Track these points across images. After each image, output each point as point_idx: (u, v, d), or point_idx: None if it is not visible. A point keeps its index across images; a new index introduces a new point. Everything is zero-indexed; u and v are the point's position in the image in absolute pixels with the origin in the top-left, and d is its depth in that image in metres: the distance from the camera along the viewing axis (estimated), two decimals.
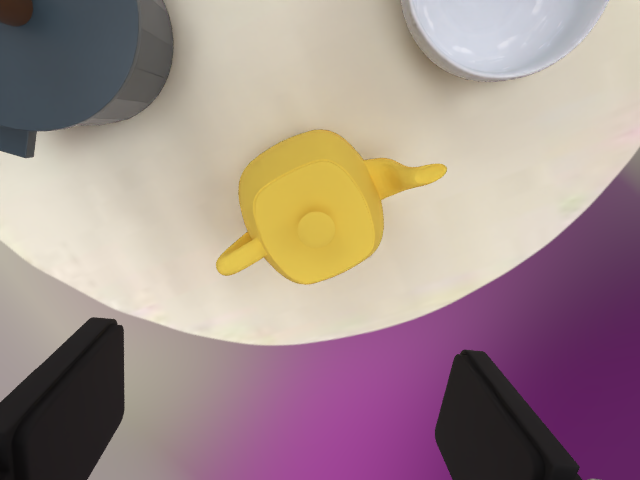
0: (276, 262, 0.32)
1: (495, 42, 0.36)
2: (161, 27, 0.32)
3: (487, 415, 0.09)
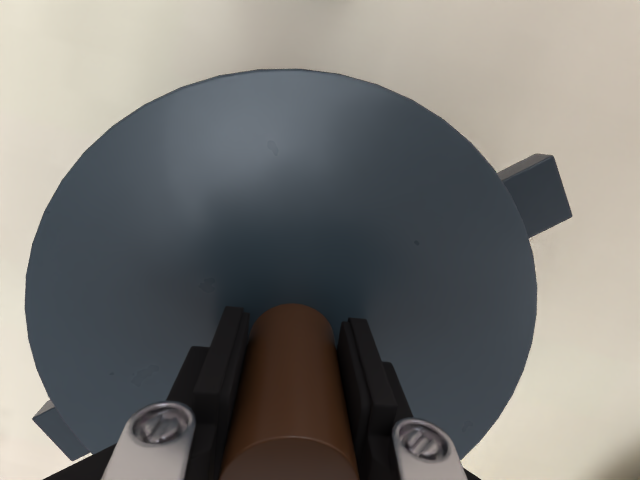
0: None
1: None
2: None
3: (348, 370, 0.10)
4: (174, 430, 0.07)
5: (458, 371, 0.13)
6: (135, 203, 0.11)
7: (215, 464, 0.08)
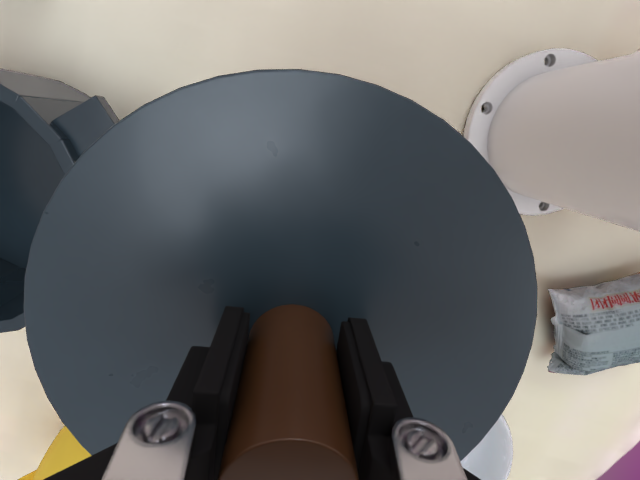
0: None
1: None
2: None
3: (348, 370, 0.10)
4: (174, 430, 0.07)
5: (458, 372, 0.13)
6: (134, 204, 0.11)
7: (215, 464, 0.08)
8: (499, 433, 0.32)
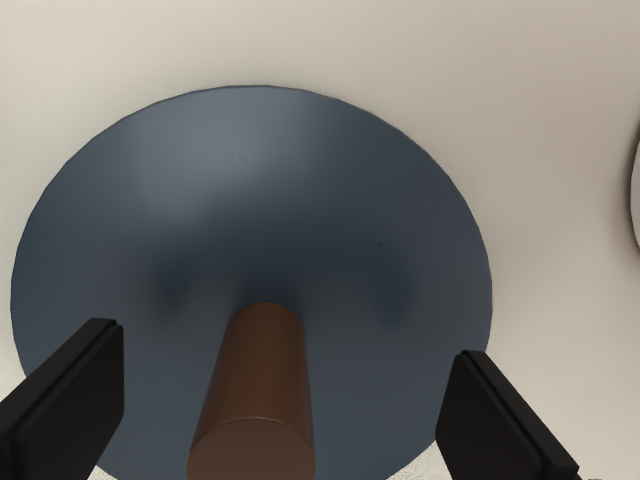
0: None
1: None
2: None
3: (487, 415, 0.09)
4: None
5: (422, 363, 0.14)
6: (115, 210, 0.12)
7: None
8: None
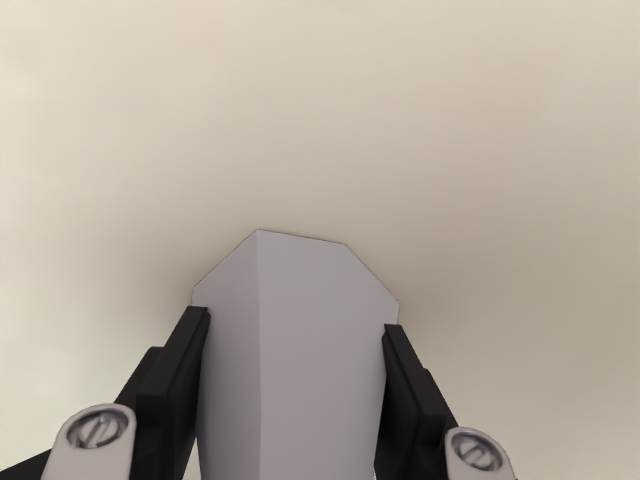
0: None
1: None
2: None
3: (388, 378, 0.10)
4: (111, 434, 0.07)
5: None
6: None
7: (164, 469, 0.08)
8: None
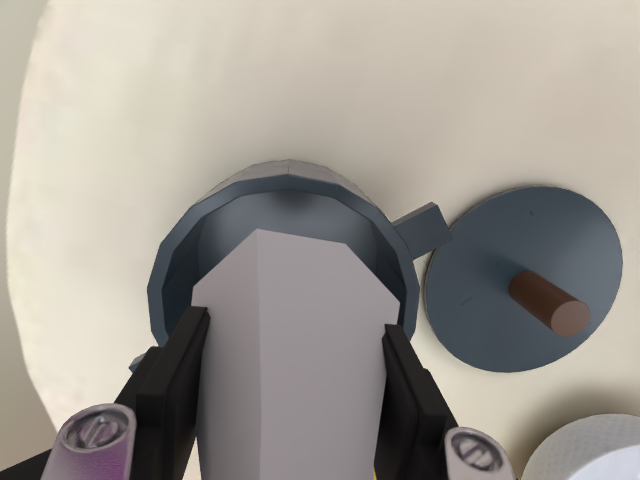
0: None
1: None
2: None
3: (388, 378, 0.10)
4: (111, 434, 0.07)
5: (588, 299, 0.32)
6: (478, 234, 0.30)
7: (164, 469, 0.08)
8: None
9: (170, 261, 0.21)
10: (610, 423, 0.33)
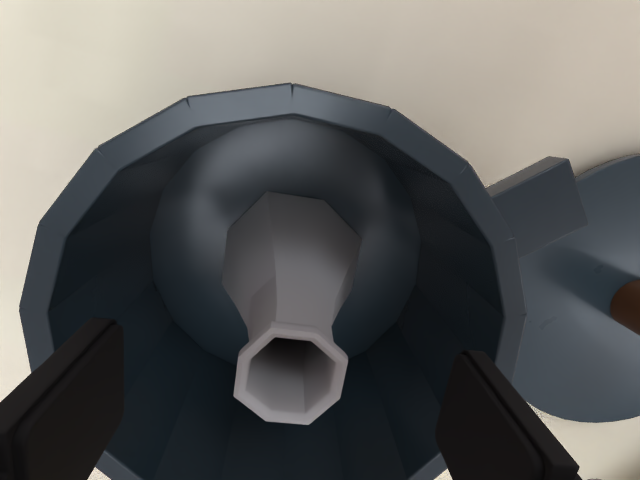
0: None
1: None
2: None
3: (487, 415, 0.09)
4: None
5: None
6: None
7: None
8: None
9: (62, 257, 0.11)
10: None
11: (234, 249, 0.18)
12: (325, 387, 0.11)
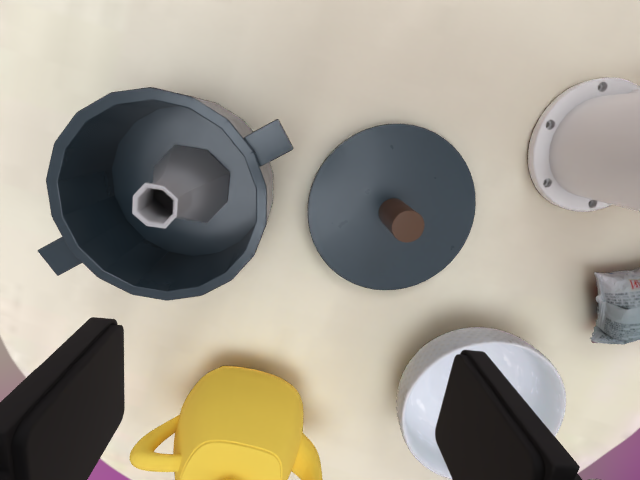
0: None
1: None
2: None
3: (487, 415, 0.09)
4: None
5: (449, 225, 0.38)
6: (348, 164, 0.36)
7: None
8: (554, 390, 0.39)
9: (63, 157, 0.27)
10: (466, 331, 0.39)
11: (153, 173, 0.34)
12: (172, 213, 0.27)
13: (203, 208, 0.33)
